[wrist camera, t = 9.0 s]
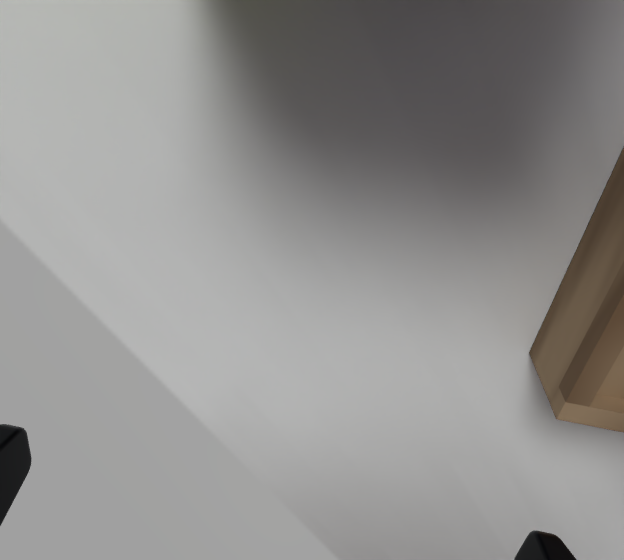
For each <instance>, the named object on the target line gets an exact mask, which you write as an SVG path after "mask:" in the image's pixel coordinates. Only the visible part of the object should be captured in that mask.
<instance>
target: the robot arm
mask: <svg viewBox="0 0 624 560" xmlns="http://www.w3.org/2000/svg"><path fill="white" fill-rule="evenodd" d="M30 466H31V454H30V448H29V443H28V437H27V433H26V431H25V430H24V428H21V427H16V426H12V425H6V424H2V425H0V525H1V524H2V522H3V520H4V518H5V516H6V514H7V512H8V510H9V508H10V506H11V505H12V503H13V501H14V499H15V497H16V495H17V493H18V491H19V489H20V487H21V485H22V483H23V481H24V480H25V478H26V476H27V474H28V472H29V469H30ZM515 560H576V558H575V557H574V556H573V555H572V553H571V552H570V551H569V549H568V548H567V547H566V546H565V544H564V543H563V542H562V540H561V539H560V538H559V537H557V536H556V535H554V534H550V533H545V532H540V531H532V532H530V533H529V535H528V536H527V538H526V540H525V541H524V543H523V545H522V546H521V548H520V550H519V552H518V553H517V555H516V557H515Z"/></svg>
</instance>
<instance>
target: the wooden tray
mask: <svg viewBox="0 0 624 560" xmlns="http://www.w3.org/2000/svg"><path fill="white" fill-rule="evenodd" d="M529 354H530V356H531V358H532V361H533V363H534V366H535V368H536V371H537V373H538V375H539V378H540V380H541V383H542V385H543V388H544V390H545V393H546V395H547V397H548V400H549V402H550V405H551V407H552V410H553V412H554V414H555V417H556V419H558V420H563V421H568V422H574V423H579V424H584V425H589V426H594V427H599V428H604V429H609V430H614V431H620V432H624V148H623V150H622V152H621V154H620V157H619V159H618V161H617V163H616V165H615V168H614V170H613V172H612V174H611V176H610V178H609V181H608V183H607V185H606V187H605V189H604V191H603V194H602V196H601V198H600V200H599V202H598V204H597V207H596V209H595V211H594V213H593V215H592V217H591V220H590V222H589V224H588V226H587V228H586V230H585V233H584V235H583V237H582V239H581V241H580V243H579V246H578V248H577V250H576V252H575V254H574V257H573V259H572V261H571V263H570V265H569V267H568V270H567V272H566V274H565V276H564V278H563V280H562V283H561V285H560V287H559V289H558V291H557V293H556V296H555V298H554V300H553V302H552V304H551V306H550V309H549V311H548V313H547V315H546V317H545V319H544V322H543V324H542V326H541V328H540V330H539V332H538V335H537V337H536V339H535V341H534V343H533V345H532V348H531V350H530V352H529Z"/></svg>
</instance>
